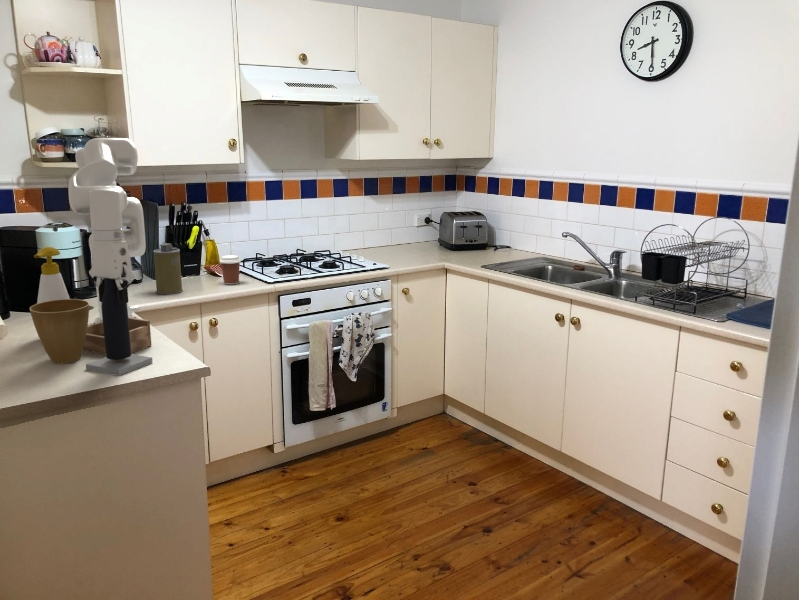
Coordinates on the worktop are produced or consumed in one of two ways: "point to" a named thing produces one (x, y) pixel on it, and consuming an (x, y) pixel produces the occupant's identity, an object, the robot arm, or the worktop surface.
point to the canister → (167, 270)
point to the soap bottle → (50, 278)
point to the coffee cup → (230, 269)
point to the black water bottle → (115, 323)
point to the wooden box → (138, 336)
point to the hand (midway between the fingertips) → (114, 301)
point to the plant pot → (62, 327)
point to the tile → (119, 364)
